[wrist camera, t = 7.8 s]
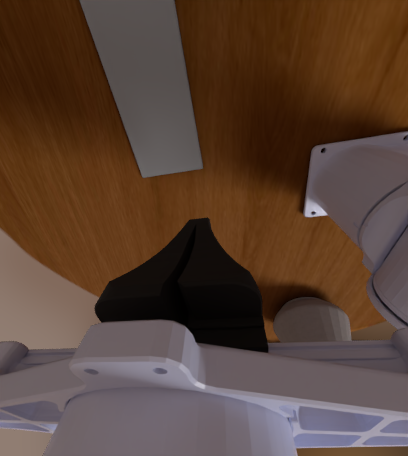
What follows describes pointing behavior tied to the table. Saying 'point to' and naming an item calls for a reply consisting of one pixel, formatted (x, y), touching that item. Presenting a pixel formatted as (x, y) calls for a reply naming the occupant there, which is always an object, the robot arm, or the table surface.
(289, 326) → the coffee pot
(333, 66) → the table surface
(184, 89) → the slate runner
